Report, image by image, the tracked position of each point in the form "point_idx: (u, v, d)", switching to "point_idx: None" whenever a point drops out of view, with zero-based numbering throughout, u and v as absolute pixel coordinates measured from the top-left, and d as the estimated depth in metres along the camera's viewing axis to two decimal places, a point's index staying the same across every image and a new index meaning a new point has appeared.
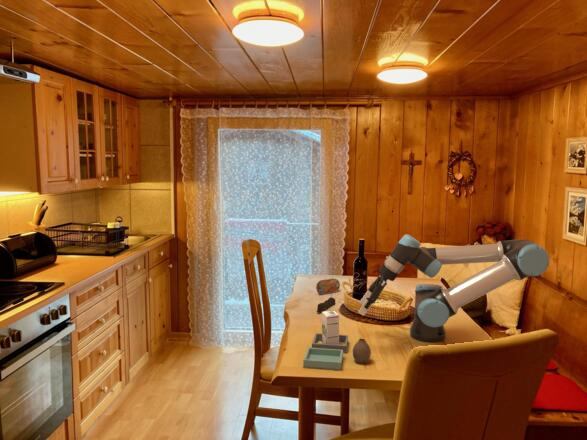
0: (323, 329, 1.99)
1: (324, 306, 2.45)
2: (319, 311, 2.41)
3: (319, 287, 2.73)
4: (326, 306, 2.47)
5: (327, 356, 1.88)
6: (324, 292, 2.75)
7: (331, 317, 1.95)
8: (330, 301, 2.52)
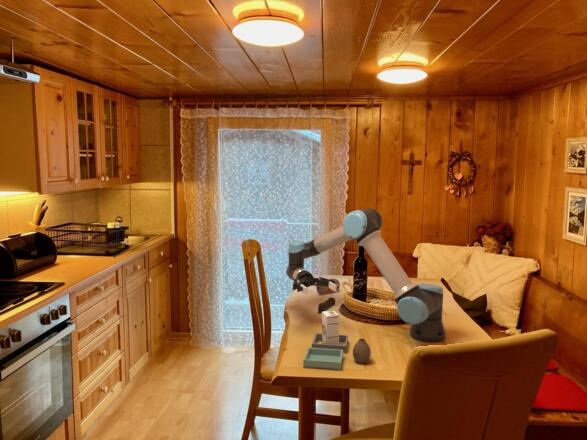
0: (323, 329, 1.99)
1: (325, 306, 2.45)
2: (320, 311, 2.41)
3: (319, 287, 2.73)
4: (326, 306, 2.47)
5: (327, 356, 1.88)
6: (324, 292, 2.75)
7: (331, 317, 1.95)
8: (330, 301, 2.52)
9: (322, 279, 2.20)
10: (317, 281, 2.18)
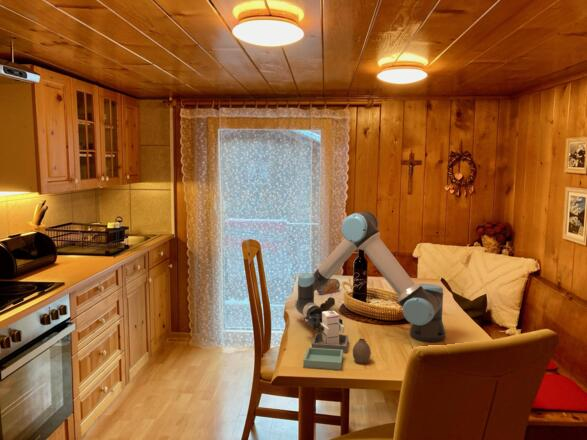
0: None
1: (326, 306, 2.45)
2: None
3: None
4: (327, 306, 2.47)
5: (327, 356, 1.88)
6: (324, 292, 2.75)
7: (331, 316, 1.95)
8: (330, 301, 2.52)
9: None
10: None
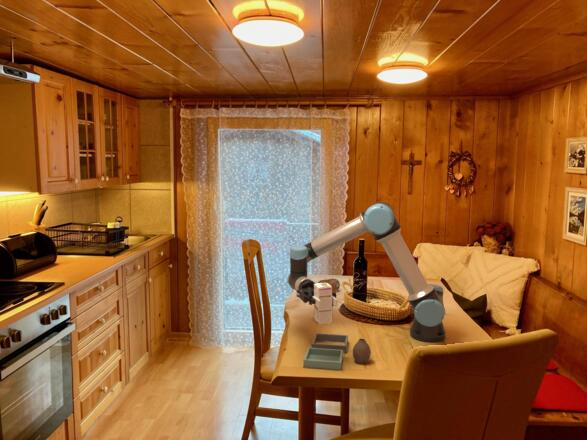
0: None
1: None
2: None
3: None
4: None
5: (327, 356, 1.88)
6: None
7: (324, 288, 1.80)
8: None
9: None
10: None
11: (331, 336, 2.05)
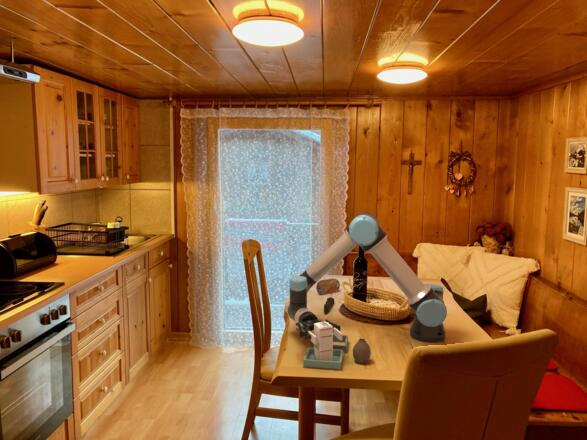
0: None
1: (329, 306, 2.44)
2: (326, 312, 2.40)
3: (319, 287, 2.73)
4: (330, 306, 2.47)
5: None
6: (324, 292, 2.75)
7: (325, 329, 1.80)
8: (331, 301, 2.52)
9: None
10: None
11: None
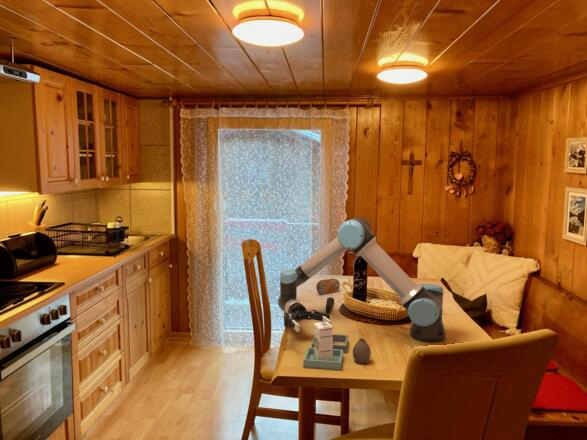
0: (315, 342, 1.83)
1: (331, 306, 2.44)
2: (328, 312, 2.40)
3: (319, 287, 2.73)
4: (331, 306, 2.47)
5: None
6: (324, 292, 2.75)
7: (325, 329, 1.80)
8: (332, 301, 2.52)
9: (316, 312, 2.06)
10: (310, 315, 2.04)
11: None
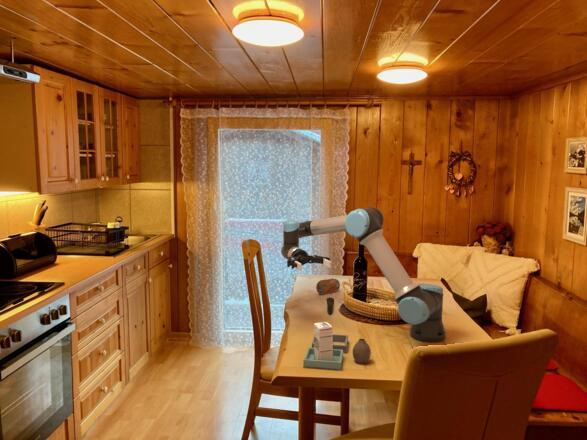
0: (315, 342, 1.83)
1: (332, 306, 2.44)
2: (330, 312, 2.40)
3: (319, 287, 2.73)
4: None
5: None
6: (324, 292, 2.75)
7: (325, 329, 1.80)
8: (332, 301, 2.52)
9: (317, 257, 2.19)
10: (312, 258, 2.17)
11: None
